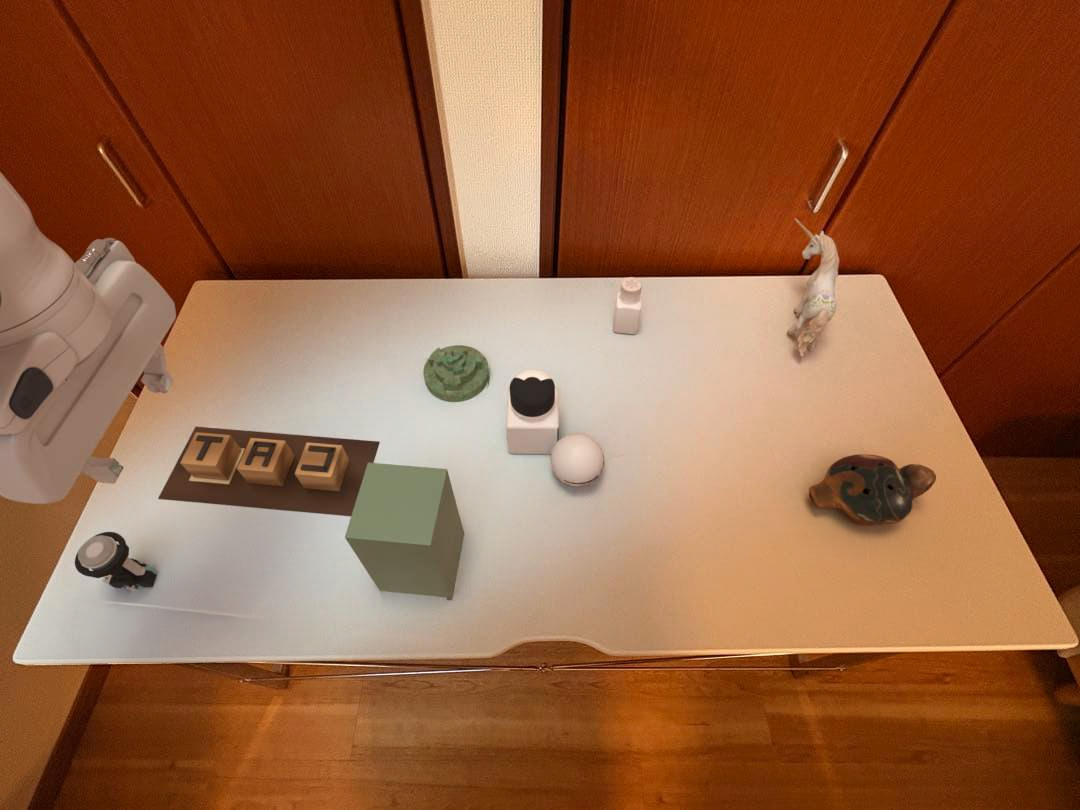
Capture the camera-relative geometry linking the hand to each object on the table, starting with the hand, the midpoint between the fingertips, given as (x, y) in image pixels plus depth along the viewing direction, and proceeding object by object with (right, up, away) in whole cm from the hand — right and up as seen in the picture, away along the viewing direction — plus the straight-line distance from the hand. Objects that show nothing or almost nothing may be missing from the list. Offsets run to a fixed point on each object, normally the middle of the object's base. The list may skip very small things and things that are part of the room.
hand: (139, 429), depth 54 cm
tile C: (+6, -8, +32) cm, 33 cm away
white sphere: (+42, -8, +32) cm, 54 cm away
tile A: (-2, -7, +32) cm, 33 cm away
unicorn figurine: (+77, +16, +50) cm, 93 cm away
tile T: (-10, -6, +33) cm, 35 cm away
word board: (-2, -7, +33) cm, 34 cm away
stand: (+20, -18, +25) cm, 37 cm away
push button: (-16, -20, +24) cm, 35 cm away
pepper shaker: (+50, +15, +49) cm, 71 cm away
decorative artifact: (+22, +6, +43) cm, 49 cm away
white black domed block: (+34, -2, +37) cm, 50 cm away
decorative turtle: (+79, -11, +29) cm, 85 cm away
